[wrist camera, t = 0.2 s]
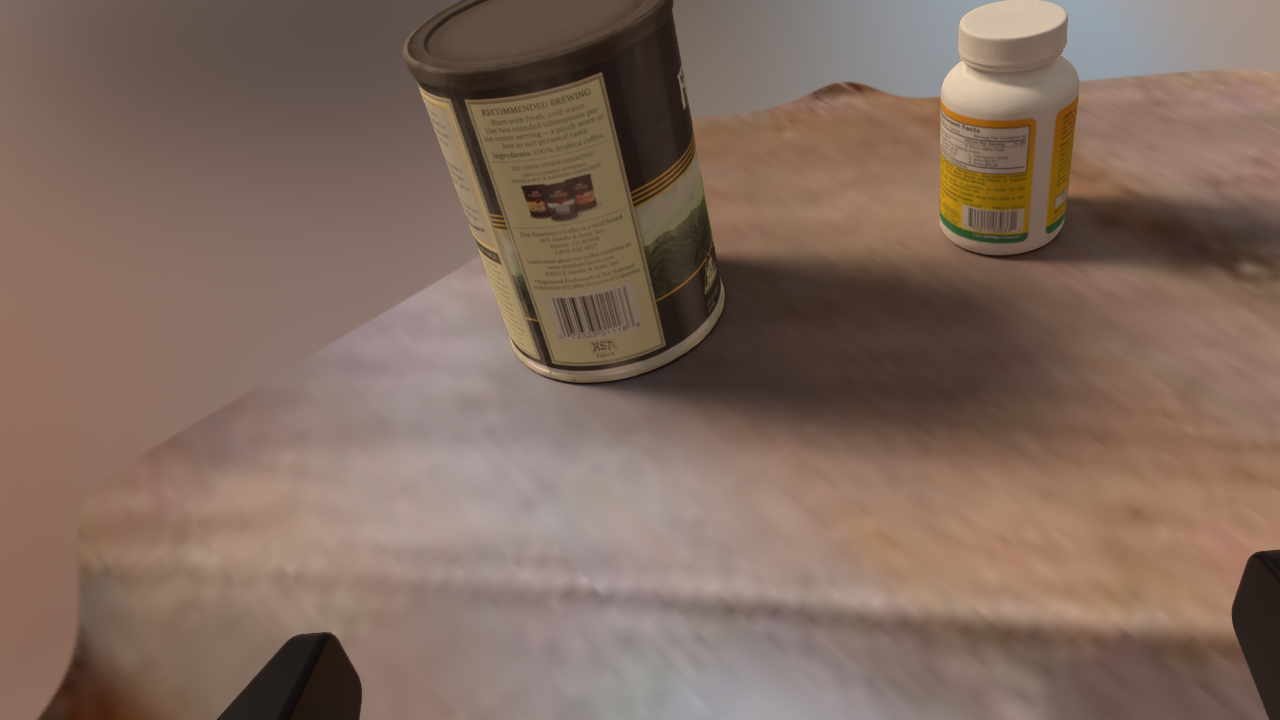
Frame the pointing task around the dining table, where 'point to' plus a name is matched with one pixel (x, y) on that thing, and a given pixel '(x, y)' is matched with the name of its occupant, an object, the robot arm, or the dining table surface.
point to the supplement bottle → (1007, 129)
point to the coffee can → (576, 177)
